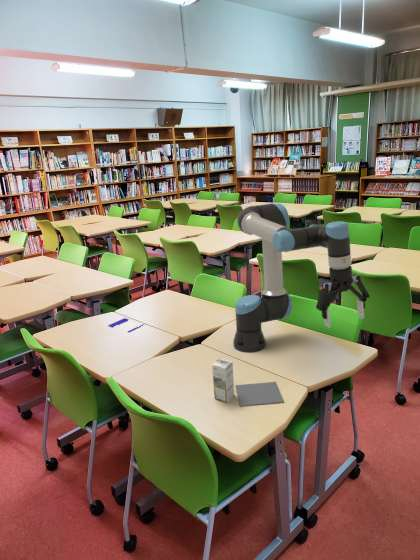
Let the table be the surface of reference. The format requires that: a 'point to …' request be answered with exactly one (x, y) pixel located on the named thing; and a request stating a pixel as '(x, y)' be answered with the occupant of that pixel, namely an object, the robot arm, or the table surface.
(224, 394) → the syrup box
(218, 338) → the table surface
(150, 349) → the table surface
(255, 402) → the mat
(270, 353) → the table surface
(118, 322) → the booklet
